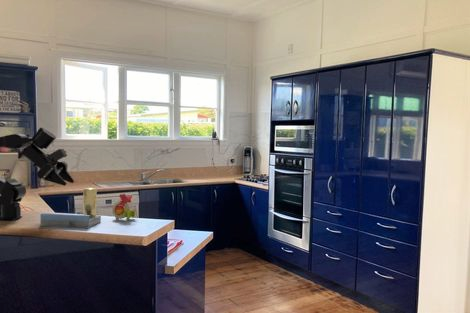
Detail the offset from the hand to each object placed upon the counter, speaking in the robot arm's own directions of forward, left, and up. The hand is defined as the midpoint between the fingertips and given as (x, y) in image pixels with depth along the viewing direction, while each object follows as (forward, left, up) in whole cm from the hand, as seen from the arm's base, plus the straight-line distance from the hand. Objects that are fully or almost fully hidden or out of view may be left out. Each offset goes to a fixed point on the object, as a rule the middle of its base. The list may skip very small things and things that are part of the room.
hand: (69, 183), depth 152 cm
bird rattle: (+20, +4, -15) cm, 25 cm away
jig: (+4, -7, -14) cm, 17 cm away
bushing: (+7, +2, -15) cm, 16 cm away
